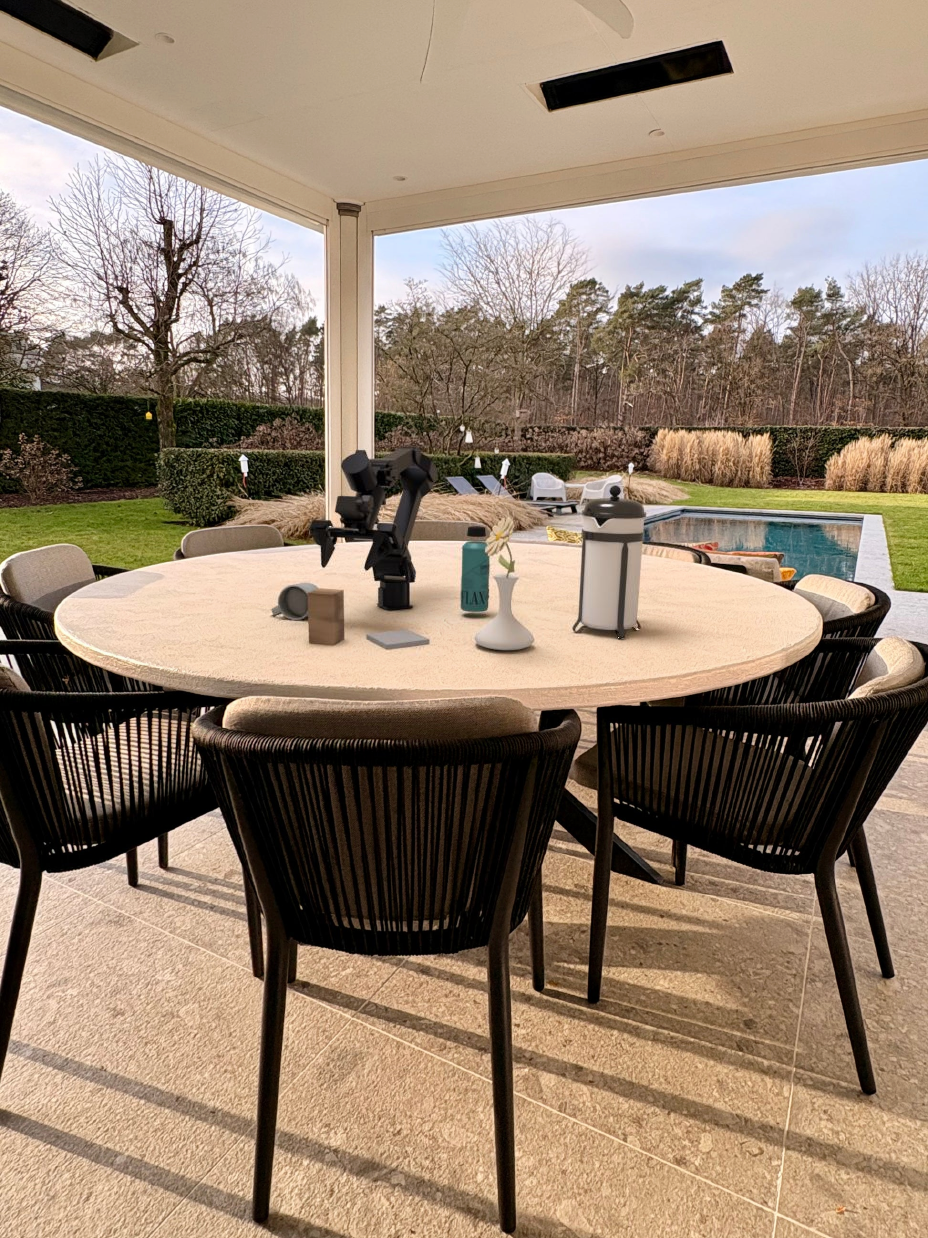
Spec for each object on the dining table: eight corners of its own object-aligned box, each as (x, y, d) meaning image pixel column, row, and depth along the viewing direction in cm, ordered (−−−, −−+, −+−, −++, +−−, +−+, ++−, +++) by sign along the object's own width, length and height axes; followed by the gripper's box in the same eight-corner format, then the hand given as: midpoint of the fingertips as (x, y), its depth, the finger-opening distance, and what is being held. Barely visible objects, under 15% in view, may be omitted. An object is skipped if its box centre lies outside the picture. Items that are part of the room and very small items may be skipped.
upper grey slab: (407, 634, 156) (407, 629, 156) (429, 644, 148) (429, 639, 148) (366, 639, 151) (366, 634, 151) (386, 650, 144) (386, 644, 143)
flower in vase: (474, 639, 154) (477, 511, 148) (532, 640, 153) (537, 513, 148) (473, 657, 141) (476, 518, 135) (536, 658, 141) (541, 519, 135)
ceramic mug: (325, 613, 174) (324, 579, 172) (311, 621, 166) (309, 585, 164) (281, 611, 176) (279, 578, 174) (265, 619, 168) (263, 584, 166)
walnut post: (320, 638, 152) (319, 588, 150) (344, 640, 151) (343, 590, 148) (308, 644, 147) (307, 592, 145) (333, 647, 146) (332, 594, 144)
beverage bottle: (455, 617, 173) (456, 526, 168) (466, 611, 179) (468, 524, 174) (482, 620, 170) (485, 528, 166) (493, 614, 176) (495, 525, 172)
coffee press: (659, 639, 157) (671, 487, 150) (583, 640, 154) (591, 487, 147) (628, 619, 173) (637, 483, 167) (558, 621, 171) (565, 482, 164)
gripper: (311, 479, 157) (286, 539, 149) (398, 482, 152) (376, 544, 144) (329, 515, 166) (306, 574, 159) (411, 519, 161) (392, 580, 153)
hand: (344, 567), depth 153 cm, fingers open, 9 cm apart
